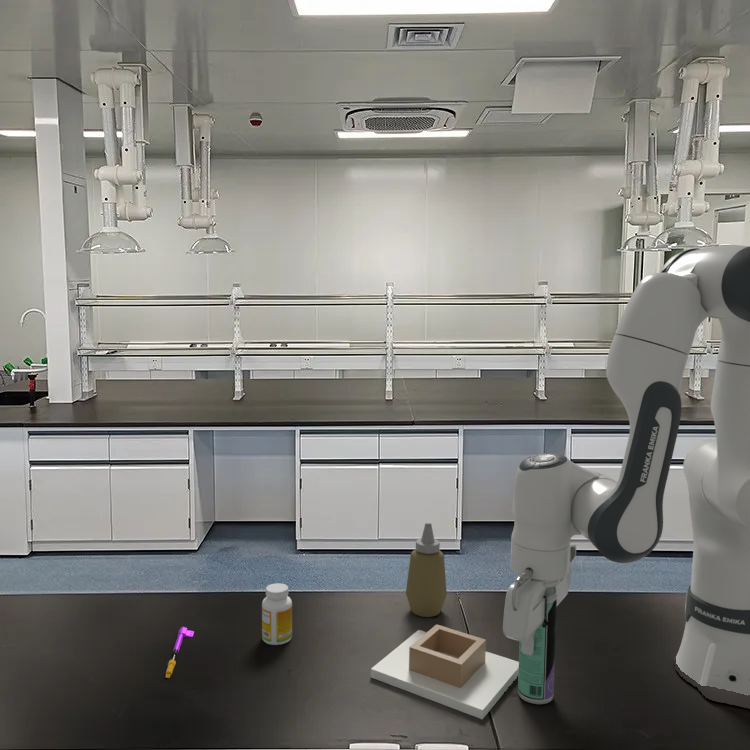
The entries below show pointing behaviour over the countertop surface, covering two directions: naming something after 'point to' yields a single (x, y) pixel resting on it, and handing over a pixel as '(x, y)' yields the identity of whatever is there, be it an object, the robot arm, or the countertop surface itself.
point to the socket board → (448, 670)
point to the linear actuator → (177, 648)
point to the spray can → (540, 658)
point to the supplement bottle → (277, 615)
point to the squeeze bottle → (426, 576)
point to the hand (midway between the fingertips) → (536, 642)
